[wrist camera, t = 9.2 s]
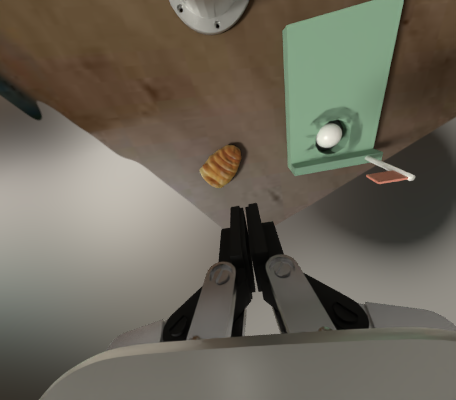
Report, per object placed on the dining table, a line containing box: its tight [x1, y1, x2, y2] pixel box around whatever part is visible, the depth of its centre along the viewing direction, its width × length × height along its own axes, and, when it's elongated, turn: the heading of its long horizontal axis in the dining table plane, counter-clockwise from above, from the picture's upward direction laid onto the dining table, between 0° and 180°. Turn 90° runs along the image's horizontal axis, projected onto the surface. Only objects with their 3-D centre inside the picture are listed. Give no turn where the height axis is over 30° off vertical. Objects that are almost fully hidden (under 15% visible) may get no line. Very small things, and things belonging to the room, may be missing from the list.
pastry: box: [200, 145, 241, 188], centre depth 36 cm, size 9×7×4 cm
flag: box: [365, 156, 415, 184], centre depth 29 cm, size 1×4×14 cm, turn 102°
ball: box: [316, 123, 342, 148], centre depth 32 cm, size 4×4×4 cm
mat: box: [283, 0, 404, 176], centre depth 29 cm, size 22×15×5 cm
